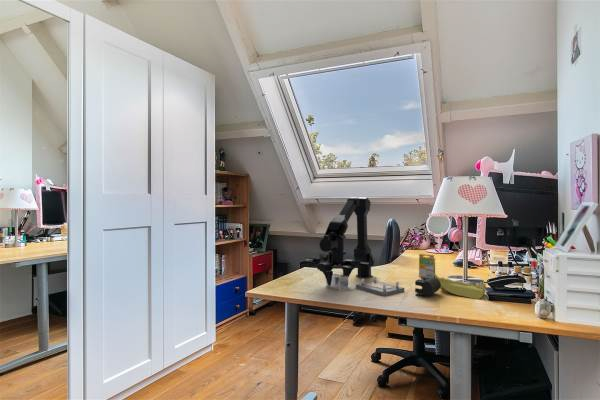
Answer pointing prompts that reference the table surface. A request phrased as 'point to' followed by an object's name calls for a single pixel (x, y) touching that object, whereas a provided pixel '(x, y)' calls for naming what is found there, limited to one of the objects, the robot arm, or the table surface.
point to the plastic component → (461, 288)
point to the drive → (339, 281)
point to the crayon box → (426, 266)
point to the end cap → (427, 286)
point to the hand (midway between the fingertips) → (337, 284)
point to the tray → (380, 287)
